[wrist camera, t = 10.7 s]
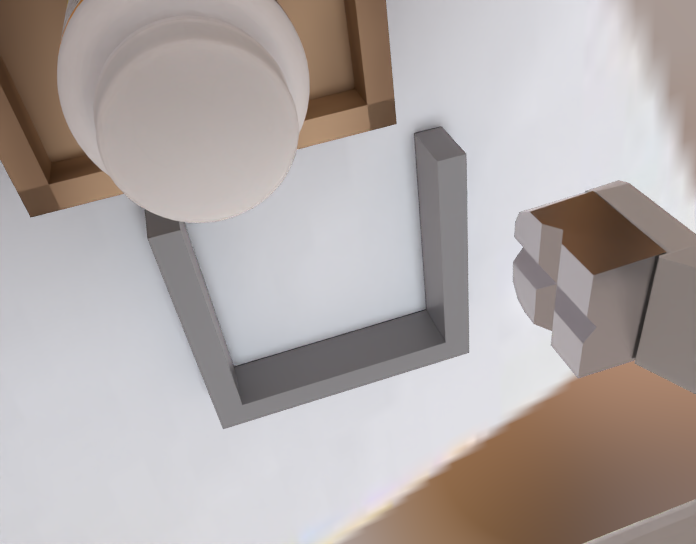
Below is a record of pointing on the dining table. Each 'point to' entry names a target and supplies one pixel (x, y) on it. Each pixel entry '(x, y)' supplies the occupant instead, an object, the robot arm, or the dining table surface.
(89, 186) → the walnut tray
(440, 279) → the charcoal bay
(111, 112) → the supplement bottle
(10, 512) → the dining table surface
